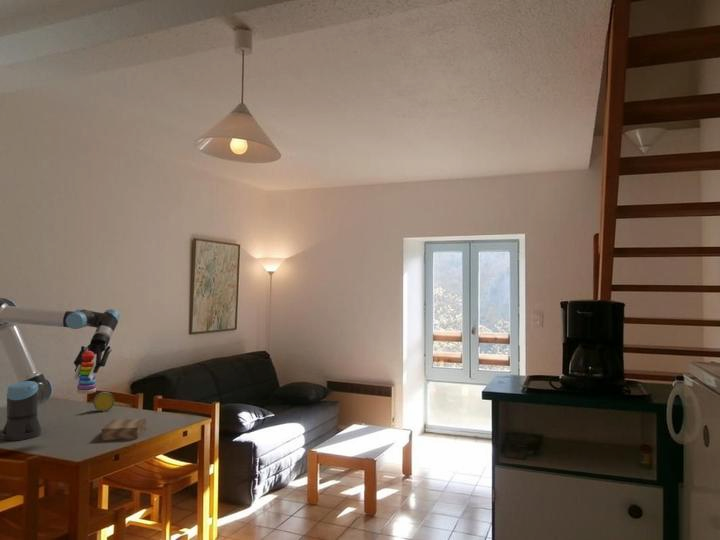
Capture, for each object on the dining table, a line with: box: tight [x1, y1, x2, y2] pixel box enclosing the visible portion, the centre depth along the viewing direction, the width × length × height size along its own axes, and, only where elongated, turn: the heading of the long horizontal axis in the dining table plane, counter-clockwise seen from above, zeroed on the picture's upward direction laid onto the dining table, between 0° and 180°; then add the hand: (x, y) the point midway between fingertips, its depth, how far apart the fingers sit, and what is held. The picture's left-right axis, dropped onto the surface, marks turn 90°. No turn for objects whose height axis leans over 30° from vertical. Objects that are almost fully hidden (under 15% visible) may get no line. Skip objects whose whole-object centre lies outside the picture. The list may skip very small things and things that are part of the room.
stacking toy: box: [75, 351, 97, 395], centre depth 235 cm, size 8×8×19 cm
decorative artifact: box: [92, 391, 115, 412], centre depth 282 cm, size 10×7×10 cm
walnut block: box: [100, 418, 147, 441], centre depth 237 cm, size 15×15×5 cm
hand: (82, 378), depth 231 cm, fingers closed on stacking toy, 6 cm apart
